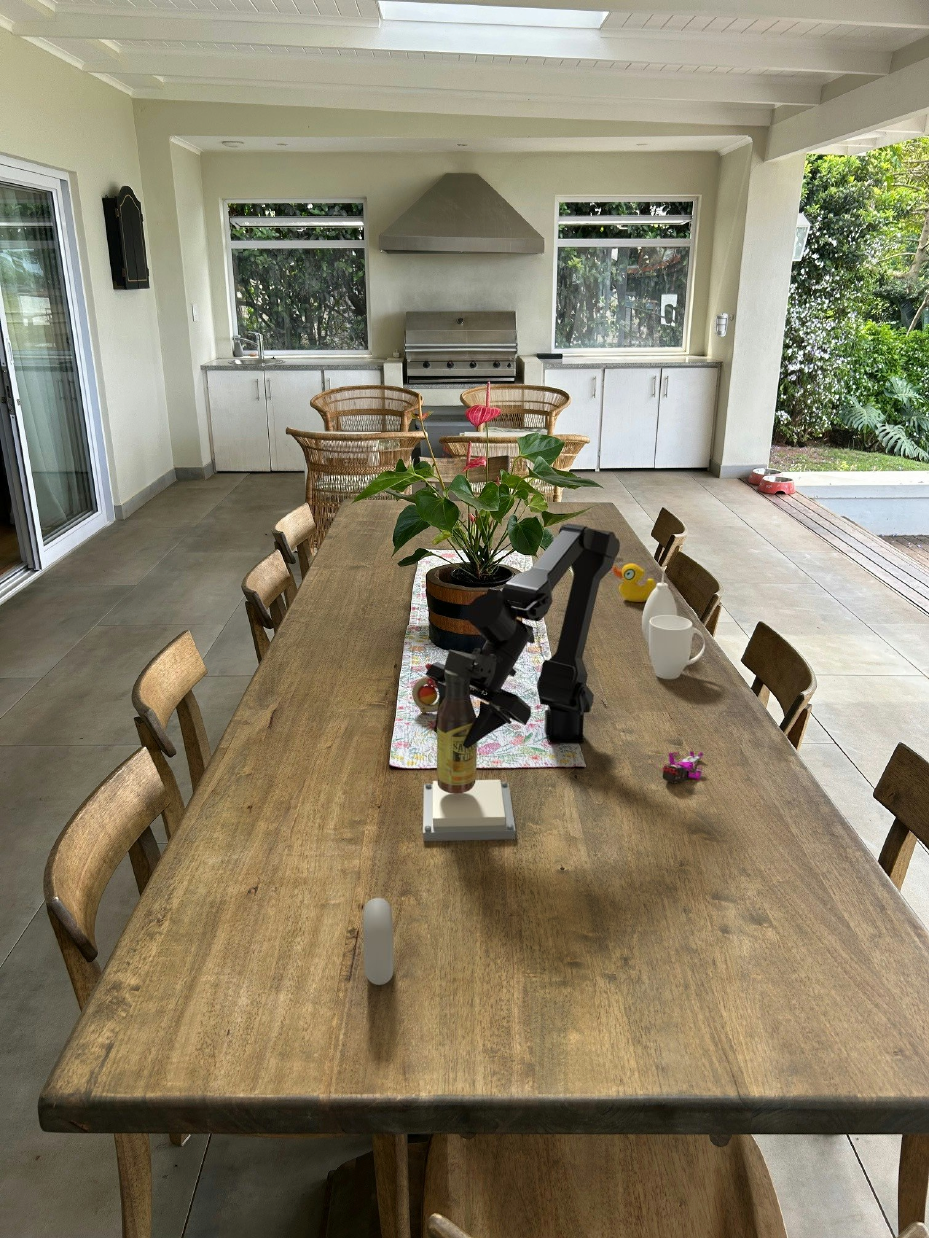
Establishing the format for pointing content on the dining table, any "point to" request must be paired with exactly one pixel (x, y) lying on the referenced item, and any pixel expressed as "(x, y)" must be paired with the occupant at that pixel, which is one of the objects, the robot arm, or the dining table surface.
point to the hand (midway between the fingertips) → (450, 739)
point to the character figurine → (682, 768)
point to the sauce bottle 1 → (455, 737)
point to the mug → (671, 645)
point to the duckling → (634, 583)
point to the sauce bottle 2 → (658, 605)
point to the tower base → (468, 830)
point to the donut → (378, 941)
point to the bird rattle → (425, 694)
